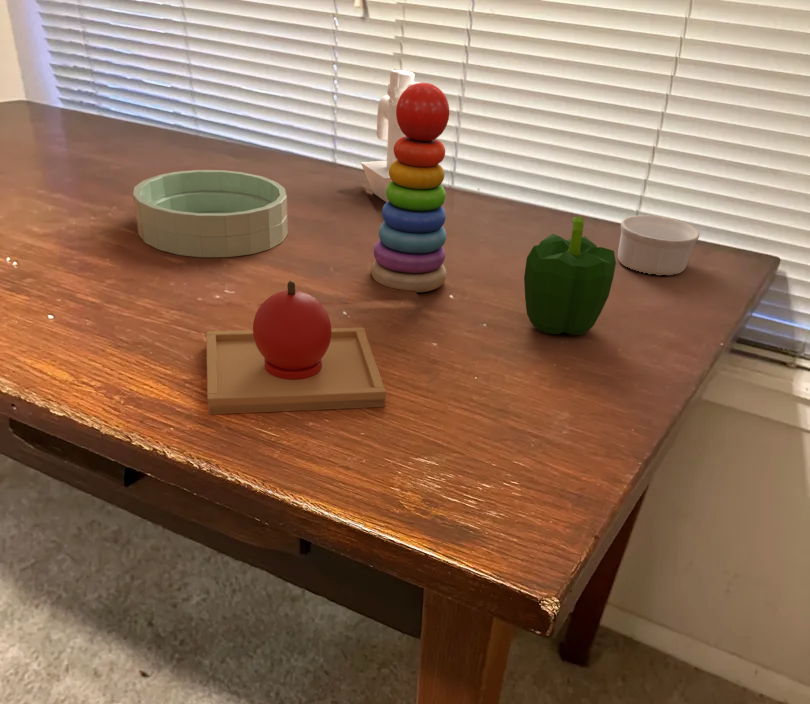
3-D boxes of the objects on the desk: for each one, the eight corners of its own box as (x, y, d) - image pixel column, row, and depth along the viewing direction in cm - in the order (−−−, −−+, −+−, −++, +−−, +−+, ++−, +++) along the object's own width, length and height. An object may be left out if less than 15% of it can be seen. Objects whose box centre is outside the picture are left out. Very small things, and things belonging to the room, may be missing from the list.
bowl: (135, 263, 86) (128, 215, 83) (143, 212, 98) (137, 169, 95) (293, 262, 89) (292, 215, 86) (281, 213, 101) (280, 170, 98)
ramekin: (626, 245, 100) (634, 209, 97) (697, 262, 97) (708, 225, 94) (602, 266, 94) (610, 228, 91) (677, 285, 91) (688, 246, 88)
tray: (208, 414, 63) (207, 398, 62) (207, 345, 72) (206, 331, 72) (385, 407, 66) (386, 391, 65) (363, 341, 75) (363, 327, 74)
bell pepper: (585, 353, 76) (608, 246, 70) (504, 330, 79) (520, 225, 72) (613, 322, 82) (637, 221, 75) (537, 302, 85) (554, 203, 78)
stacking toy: (440, 300, 83) (459, 96, 72) (364, 290, 84) (371, 87, 72) (449, 272, 90) (468, 80, 78) (378, 263, 90) (386, 72, 78)
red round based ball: (257, 386, 66) (252, 298, 61) (253, 350, 71) (248, 266, 66) (335, 383, 67) (336, 296, 62) (326, 348, 72) (326, 265, 67)
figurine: (403, 184, 114) (410, 62, 105) (435, 205, 108) (446, 77, 98) (356, 188, 111) (359, 63, 102) (386, 210, 105) (392, 78, 95)
